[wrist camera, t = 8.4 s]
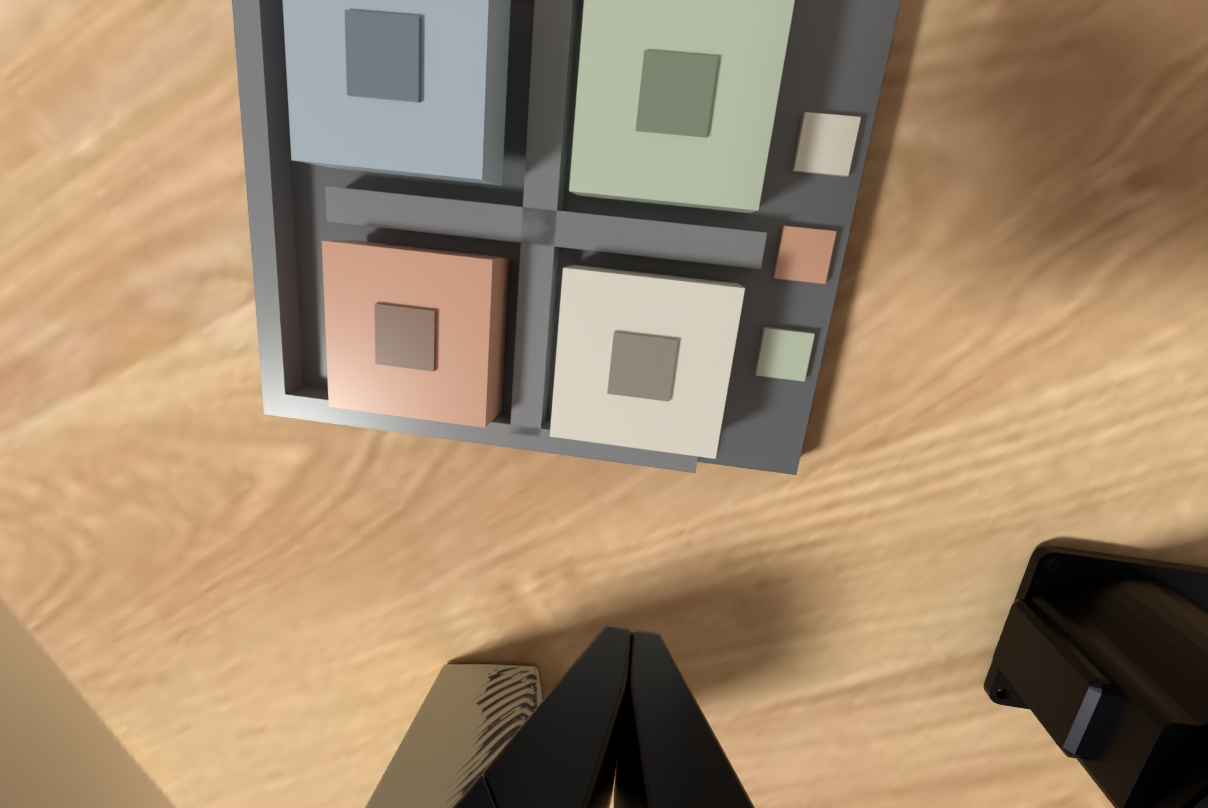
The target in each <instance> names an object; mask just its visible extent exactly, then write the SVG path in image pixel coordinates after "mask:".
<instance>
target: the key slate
mask: <svg viewBox="0 0 1208 808" xmlns="http://www.w3.org/2000/svg"><path fill="white" fill-rule="evenodd" d="M510 3H511V0H283V16H284V34H285V52H286V70H287V88H288V106H289V124H290V142H291V160H293V161H299V162H304V163H309V164H314V165H319V166H324V167H329V168H337V169H346V170H356V171H366V172H376V173H385V174H395V175H405V176H415V177H424V178H434V179H444V180H454V181H463V182H473V183H483V184H492V185H502V177H503V155H504V133H505V112H506V90H507V68H508V47H509V25H510Z"/></svg>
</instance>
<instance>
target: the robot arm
mask: <svg viewBox="0 0 1208 808" xmlns="http://www.w3.org/2000/svg"><path fill="white" fill-rule="evenodd" d="M1050 559H1054V560H1053V561H1052V563H1050V564H1048V565H1045V564H1046V562H1047V561H1048V560H1050ZM1002 688H1004V689H1003V690H1001V691H998V690H999V689H1002ZM984 690H985V692H986V693H987V695H988V696H989V698H990V699H991V700H992V701H993V702H994V703H997V704H1000V705H1006V706H1012V707H1018V708H1025V709H1030V710H1031V711H1032V712H1033V713H1034V715H1035V716H1036V717H1037V719H1038V720H1039V721H1040V723H1041V724H1042V725H1043V727H1044V728H1045V729H1046V731H1047V732H1048V733H1049V734H1050V736H1051V737H1052V738H1053V740H1054V741H1055V742H1056V744H1057V745H1058V746H1059V748H1060V749H1061V750H1062V751H1063V753H1064V754H1065V755H1066V756H1067V757H1071V758H1077V760H1078V761H1079V762H1080V764H1081V765H1082V766H1083V767H1084V769H1085V770H1086V771H1087V773H1088V774H1089V775H1090V776H1091V778H1092V779H1093V780H1094V782H1095V783H1096V784H1097V785H1098V787H1099V788H1100V789H1101V791H1102V792H1103V793H1104V794H1105V796H1106V797H1107V798H1108V800H1109V801H1110V802H1111V803H1112V805H1113V806H1114V807H1115V808H1208V568H1203V567H1196V566H1189V565H1182V564H1174V563H1167V562H1160V561H1153V560H1146V559H1139V558H1132V557H1124V556H1117V555H1110V554H1103V553H1096V552H1089V551H1081V550H1074V549H1067V548H1060V547H1053V546H1044V547H1041V548H1038V549H1037V550H1036V551H1034V552H1033V554H1032V556H1031V558H1030V560H1029V563H1028V566H1027V568H1026V571H1025V574H1024V577H1023V579H1022V582H1021V585H1020V587H1019V590H1018V593H1017V596H1016V598H1015V601H1014V603H1013V604H1012V606H1011V609H1010V612H1009V615H1008V617H1007V620H1006V623H1005V625H1004V628H1003V631H1002V634H1001V636H1000V639H999V642H998V644H997V647H996V650H995V653H994V655H993V661H992V663H991V666H990V669H989V672H988V674H987V677H986V680H985V682H984ZM615 771H616V774H615ZM614 778H615V787H614V808H755V807H754V805H753V804H752V802H751V800H750V798H749V796H748V794H747V793H746V791H745V789H744V787H743V785H742V783H741V782H740V780H739V778H738V776H737V774H736V773H735V771H734V769H733V767H732V765H731V763H730V762H729V760H728V758H727V756H726V754H725V752H724V751H723V749H722V747H721V745H720V743H719V741H718V740H717V738H716V736H715V734H714V732H713V730H712V729H711V727H710V725H709V723H708V721H707V720H706V718H705V716H704V714H703V712H702V710H701V709H700V707H699V705H698V703H697V701H696V699H695V698H694V696H693V694H692V692H691V690H690V688H689V687H688V685H687V683H686V681H685V679H684V677H683V676H682V674H681V672H680V670H679V668H678V666H677V665H676V663H675V661H674V659H673V657H672V656H671V654H670V652H669V650H668V648H667V646H666V645H665V643H664V641H663V639H662V637H661V636H660V635H659V634H658V633H656V632H649V631H643V630H634V631H633V633H632V632H631V630H630V629H629V628H624V627H617V626H611V625H607V626H605V627H604V628H603V629H602V630H601V631H600V632H599V634H598V635H597V636H596V637H595V638H594V640H593V641H592V642H591V643H590V644H589V646H588V647H587V648H586V649H585V650H584V651H583V653H582V654H581V655H580V656H579V657H578V659H577V660H576V661H575V662H574V663H573V665H572V666H571V667H570V668H569V669H568V671H567V672H566V673H565V674H564V675H563V677H562V678H561V679H560V680H559V681H558V683H557V684H556V685H555V686H554V687H553V689H552V690H551V691H550V692H549V693H548V694H547V696H546V697H545V698H544V699H543V700H542V702H541V703H540V704H539V705H538V706H537V708H536V709H535V710H534V711H533V712H532V714H531V715H530V716H529V717H528V718H527V720H526V721H525V722H524V723H523V724H522V726H521V727H520V728H519V729H518V730H517V732H516V733H515V734H514V735H513V736H512V737H511V739H510V740H509V741H508V742H507V743H506V745H505V746H504V747H503V748H502V749H501V751H500V752H499V753H498V754H497V755H496V757H495V758H494V759H493V760H492V761H491V763H490V764H489V765H488V766H487V767H486V769H485V770H484V771H483V774H482V776H479V777H478V778H477V779H476V780H475V781H474V782H473V784H472V785H471V786H470V787H469V788H468V790H467V791H466V792H465V793H464V794H463V796H462V797H461V798H460V799H459V800H458V801H457V803H456V804H455V805H454V806H453V807H452V808H609V807H610V802H611V797H612V792H613V785H614Z"/></svg>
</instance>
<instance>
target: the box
mask: <svg viewBox="0 0 1208 808" xmlns="http://www.w3.org/2000/svg"><path fill="white" fill-rule="evenodd" d="M542 700H543V699H542V692H541V686H540V678H539V672H538V669H537V667H534V666H517V665H493V664H447V665H444V666H443V667H442V669H441V671H440V673H439V675H438V677H437V678H436V680H435V682H434V684H433V686H432V687H431V689H430V691H429V693H428V695H427V697H426V698H425V700H424V702H423V704H422V706H421V707H420V709H419V711H418V713H417V715H416V716H415V718H414V720H413V722H412V724H411V726H410V727H409V729H408V731H407V733H406V735H405V737H404V738H403V740H402V742H401V744H400V746H399V747H398V749H397V751H396V753H395V755H394V757H393V758H392V760H391V762H390V764H389V766H388V767H387V769H386V771H385V773H384V774H383V776H382V778H381V780H380V782H379V784H378V785H377V787H376V789H375V791H374V793H373V794H372V796H371V798H370V800H369V802H368V804H367V805H366V807H365V808H452V807H453V806H454V805H455V804H456V803H457V801H458V800H459V799H460V798H461V797H462V796H463V794H464V793H465V792H466V791H467V790H468V788H469V787H470V786H471V785H472V784H473V782H474V781H475V780H476V779H477V778H478V777H479V776H482V774H483V771H484V770H485V769H486V767H487V766H488V765H489V764H490V763H491V761H492V760H493V759H494V758H495V757H496V755H497V754H498V753H499V752H500V751H501V749H502V748H503V747H504V746H505V745H506V743H507V742H508V741H509V740H510V739H511V737H512V736H513V735H514V734H515V733H516V732H517V730H518V729H519V728H520V727H521V726H522V724H523V723H524V722H525V721H526V720H527V718H528V717H529V716H530V715H531V714H532V712H533V711H534V710H535V709H536V708H537V706H538V705H539V704H540V703H541V702H542Z"/></svg>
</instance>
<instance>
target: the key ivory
mask: <svg viewBox="0 0 1208 808" xmlns="http://www.w3.org/2000/svg"><path fill="white" fill-rule="evenodd" d="M744 291H745V288H744V287H742V286H741V285H740V284H738V283H734V282H725V281H716V280H707V279H698V278H689V277H680V276H671V275H662V274H654V273H645V272H636V271H627V270H618V269H609V268H600V267H591V266H582V265H570V266H567V267H564V268H563V274H562V287H561V300H560V313H559V325H558V338H557V351H556V363H555V376H554V389H553V401H552V414H551V427H550V437H557V438H564V439H572V440H579V441H587V442H594V443H601V444H609V445H616V446H624V447H631V448H639V449H646V450H653V451H661V452H668V453H676V454H683V455H691V456H698V457H705V458H713V459H716V454H717V448H718V442H719V436H720V431H721V425H722V419H723V413H724V407H725V402H726V396H727V390H728V384H729V378H730V373H731V367H732V361H733V355H734V349H735V344H736V338H737V332H738V326H739V320H740V315H741V309H742V303H743V297H744Z"/></svg>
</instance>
